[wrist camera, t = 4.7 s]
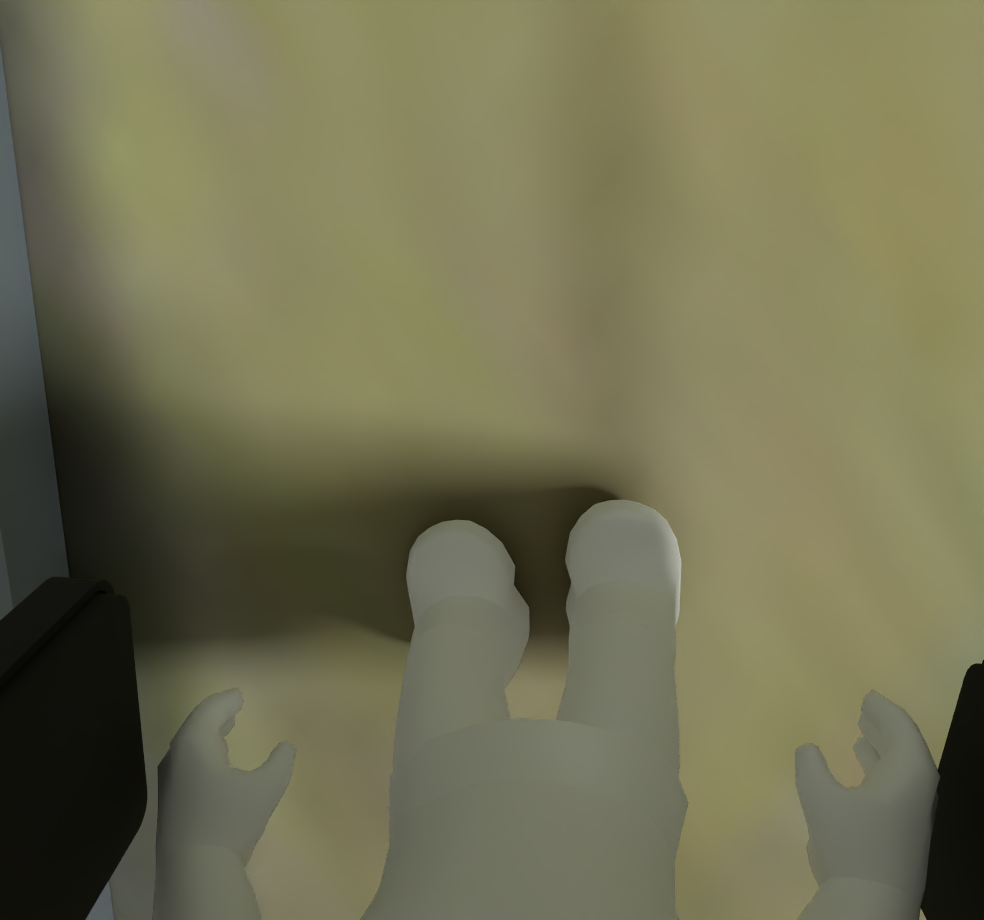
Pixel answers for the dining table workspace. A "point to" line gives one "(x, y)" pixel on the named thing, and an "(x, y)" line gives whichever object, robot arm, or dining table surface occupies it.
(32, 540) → the cradle jig
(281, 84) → the dining table surface
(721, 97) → the dining table surface
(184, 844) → the white toy figurine
